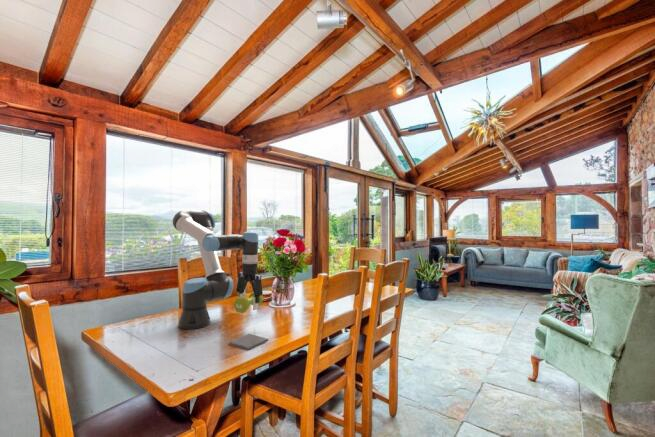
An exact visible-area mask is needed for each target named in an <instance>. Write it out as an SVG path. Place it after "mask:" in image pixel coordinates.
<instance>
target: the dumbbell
mask: <svg viewBox="0 0 655 437" xmlns="http://www.w3.org/2000/svg"><path fill="white" fill-rule="evenodd" d="M254 296H255V295H254V292H253V291H252V292H251V293H250V295H249V296H248V298H247V297H246V296H245V297H239V296H238V297H237V298H236V299H235V300H234V302H233V308H234V310H235V312H236V313H241V314H243V313H245V312H247V310H248V309H249V307H250V305H251V306H253V297H254ZM263 296H264V295H261V296H259V303H258V307H260V306H261V305H262V303H263V302H264V297H263Z"/></svg>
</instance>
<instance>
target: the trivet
mask: <svg viewBox="0 0 655 437" xmlns="http://www.w3.org/2000/svg"><path fill="white" fill-rule="evenodd" d="M268 341H269V338H266V337H263V336H259V335H255V334H252V333H247V334H244V335H242V336H240V337H237V338H234V339H233V340H230V341H229V342H228V344H229V345H231V346H235V347H237V348H240V349H244V350H247V351H250V350H253V349H254V348H256V347H258V346H261V345H262V344H265V343H267V342H268Z"/></svg>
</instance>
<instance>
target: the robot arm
mask: <svg viewBox="0 0 655 437" xmlns="http://www.w3.org/2000/svg"><path fill="white" fill-rule="evenodd" d="M172 226H173V227H174V229H175V230H176V231H177V232H180V233H185V234H186V235H188V236H189V237H191V238H192V239H194V240H196V242H197V244H198V248H199V251H200V256H201V260H202V264H203V266H204V271H205V277H203V276H202V277H194V278H190V279H188V280H187V279H186V280H185V282H183V284H182V291H181V292H182V308H181V309H182V310H181V313H180V317H179V319H178V328H180V329H183V330H184V329H185V330H196V329H201V328H204V327H206V326H208V325H210V324H211V318H210V315H209V311H208V309H207V308H208V304H207V303H208V302H212V301H213V302H214V301H217V300H224V299H226V298H229V297H230V296H231V295H232V293H233V290H234V280H233V279H232V277H231V276H229V275H227V273H226V271H224V270H223V269H222V266H221V262H220V258H219V254H218V251H232V250H241V252H242V255H241V256H242V257H241V258H242V259H241V261H242V263H241V270H242V271H240V272H238V273H237V276H238V277H237V283H236V290H235V291H236V293H238V294H239V296H238V297H245V298H246V293H245V290H246V287H247V285H248V283H249V284H250V285H251V288H252V292H254V295H255V296H254V297H253V305H252V310H253V311H256V310H259V306H258V303H259V296H261V295H262V296H264V294H263V287H262V286H263V284H262V275H261V274H260V275H259V274H257V271H258V266H259V265H258V264H259V263H258V262H259V259H258V258H259V257H258V256H259V233H258V232H257V231H244V232H243V233H242V234H238V233H235V234H234V233H233V234H223V235H221V234H217V233H215V232H214V228H215V227H216V218H215V216H214V214H213V213H212V212H211V211H209V210H192V209H189V210H188V209H186V210H185V209H184V210H180V211H178V212H177V213H175V214H174V216H173V218H172Z"/></svg>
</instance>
